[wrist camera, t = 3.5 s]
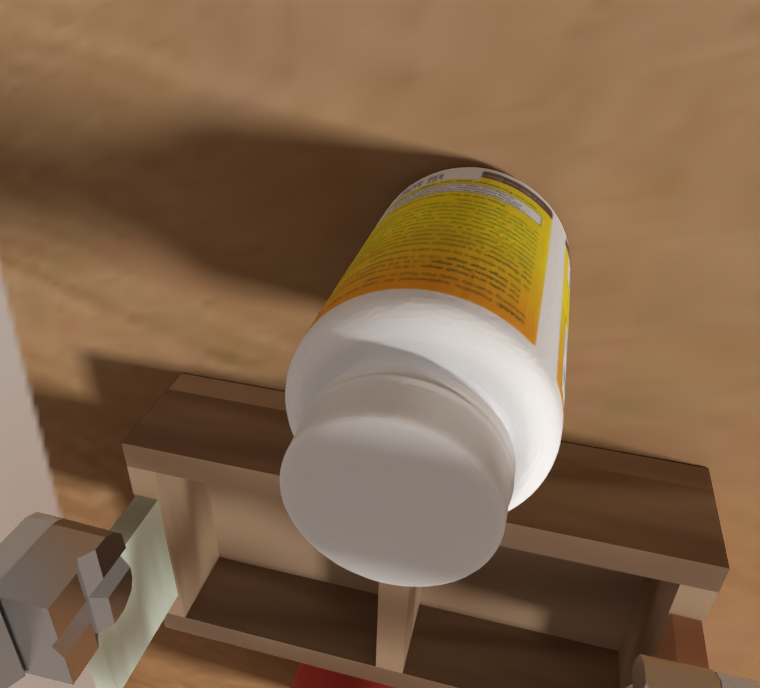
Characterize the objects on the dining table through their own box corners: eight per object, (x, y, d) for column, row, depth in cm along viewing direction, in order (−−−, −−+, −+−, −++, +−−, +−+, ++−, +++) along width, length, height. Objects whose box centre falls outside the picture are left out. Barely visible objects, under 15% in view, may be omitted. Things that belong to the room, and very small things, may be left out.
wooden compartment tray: (181, 373, 25) (39, 537, 19) (708, 468, 22) (759, 712, 15) (210, 549, 30) (107, 725, 24) (638, 649, 27) (654, 889, 20)
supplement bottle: (347, 203, 20) (172, 418, 12) (529, 127, 18) (474, 328, 9) (426, 357, 22) (328, 631, 14) (599, 307, 20) (606, 603, 11)
